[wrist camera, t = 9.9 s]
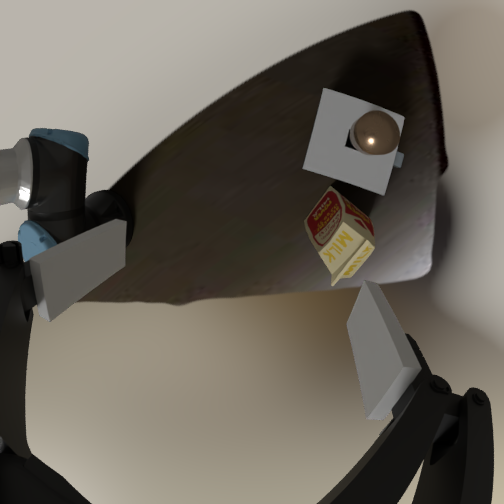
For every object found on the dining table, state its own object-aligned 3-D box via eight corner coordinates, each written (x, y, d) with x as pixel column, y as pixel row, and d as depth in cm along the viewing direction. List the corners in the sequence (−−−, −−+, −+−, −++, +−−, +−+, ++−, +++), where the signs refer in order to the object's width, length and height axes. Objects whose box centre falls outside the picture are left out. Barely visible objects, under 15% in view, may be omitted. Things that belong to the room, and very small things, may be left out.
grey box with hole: (302, 166, 46) (302, 168, 33) (317, 108, 42) (323, 87, 29) (371, 189, 45) (397, 200, 32) (386, 132, 41) (417, 123, 28)
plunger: (312, 161, 45) (322, 160, 22) (324, 117, 42) (344, 75, 19) (357, 175, 44) (407, 191, 21) (369, 132, 41) (427, 109, 18)
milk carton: (330, 185, 46) (348, 201, 28) (369, 217, 47) (406, 252, 28) (300, 225, 50) (298, 266, 31) (339, 254, 50) (357, 308, 31)
